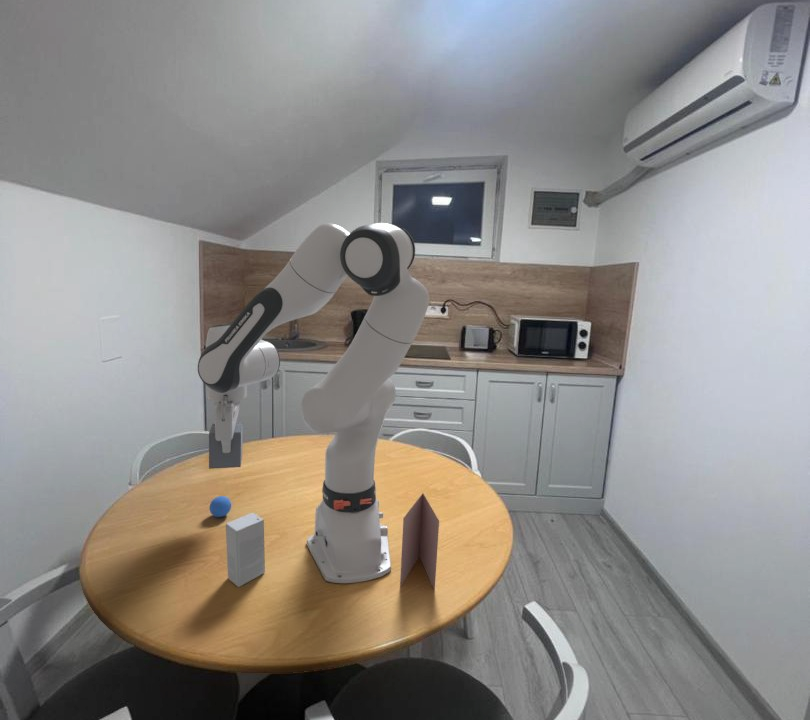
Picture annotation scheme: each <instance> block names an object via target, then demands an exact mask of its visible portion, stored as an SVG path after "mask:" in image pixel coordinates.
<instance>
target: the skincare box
mask: <svg viewBox="0 0 810 720" xmlns="http://www.w3.org/2000/svg"><path fill="white" fill-rule="evenodd" d="M225 537H226V541H225V542H226V560H227V564H226V565H227V579H228V580H230V581H231V582H232V583H233V584H234V585H235V586H237V587H238V588H240V587H242V586H243V585H245V584H247V583H248V582H251V581H252V580H254V579H256V578H258V577H260V576H262V575H264V574H265V573H266V563H265V562H266V561H265V559H266V558H265V557H266V556H265V555H266V554H265V552H266V551H265V519H264V518H262V517H261V516H259V515H258V514H256V513H254V512H250V513H247V514H246V515H243V516H241V517H237V518H236V519H234V520H231V521H229V522H226V523H225Z"/></svg>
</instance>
